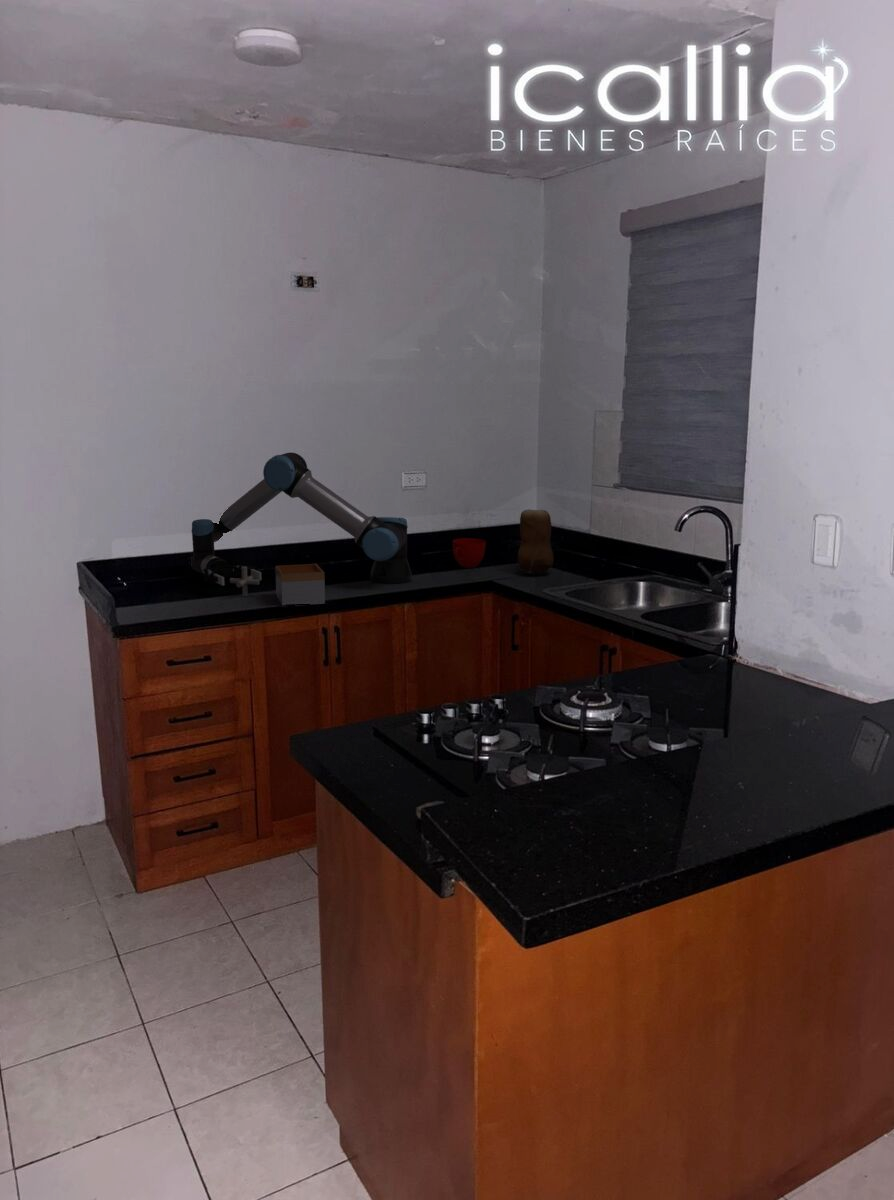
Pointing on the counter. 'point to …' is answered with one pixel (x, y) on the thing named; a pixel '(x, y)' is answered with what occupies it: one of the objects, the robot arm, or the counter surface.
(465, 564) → the ceramic cup
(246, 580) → the pipe connector
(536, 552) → the butternut squash
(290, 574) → the grey box
